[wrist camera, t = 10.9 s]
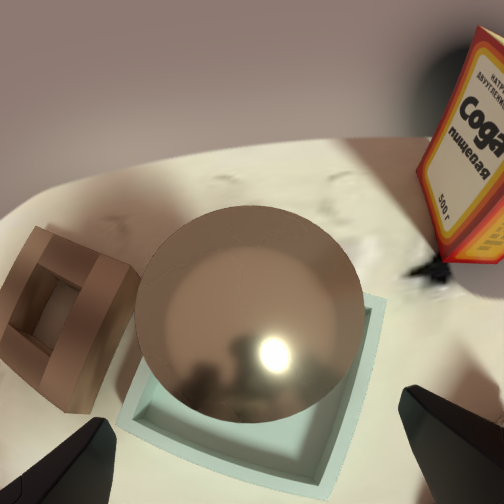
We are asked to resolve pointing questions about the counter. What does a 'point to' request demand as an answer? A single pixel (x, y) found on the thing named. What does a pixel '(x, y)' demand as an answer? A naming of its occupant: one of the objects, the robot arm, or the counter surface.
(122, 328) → the block
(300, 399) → the pin
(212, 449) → the tray
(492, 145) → the baking soda box
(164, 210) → the counter surface
